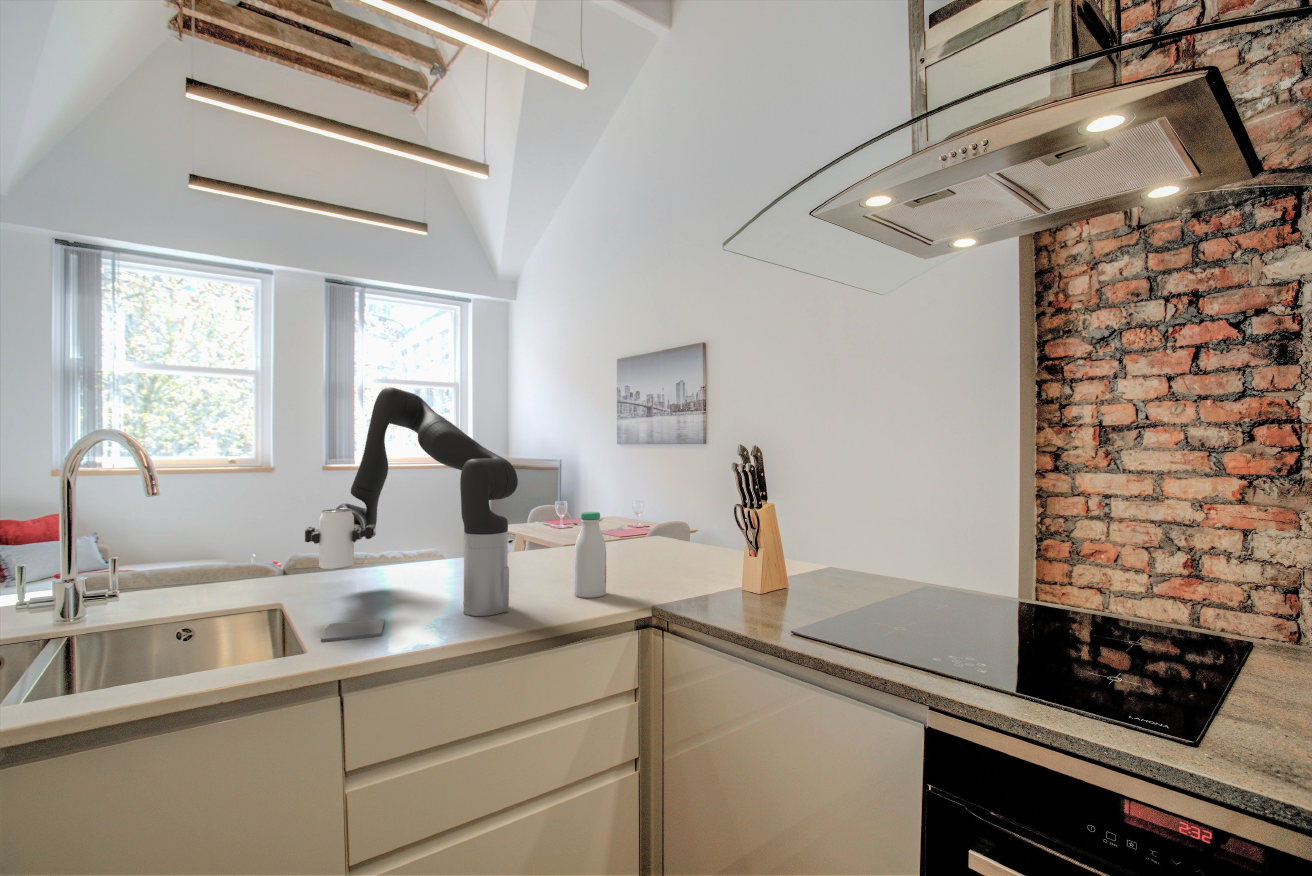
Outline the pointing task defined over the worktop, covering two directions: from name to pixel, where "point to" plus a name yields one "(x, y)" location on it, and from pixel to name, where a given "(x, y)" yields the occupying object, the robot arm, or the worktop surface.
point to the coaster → (353, 630)
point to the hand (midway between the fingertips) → (335, 537)
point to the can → (336, 539)
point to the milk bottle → (590, 558)
